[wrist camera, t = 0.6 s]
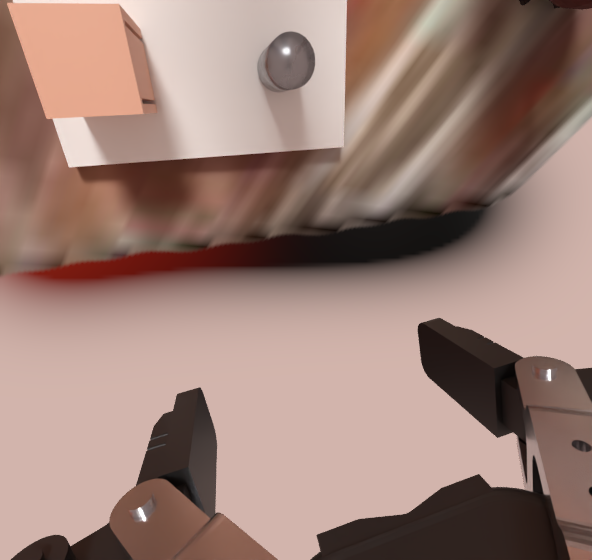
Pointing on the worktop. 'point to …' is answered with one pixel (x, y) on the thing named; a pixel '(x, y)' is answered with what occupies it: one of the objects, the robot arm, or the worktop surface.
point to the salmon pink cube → (84, 59)
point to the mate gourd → (567, 3)
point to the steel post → (286, 62)
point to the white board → (219, 84)
